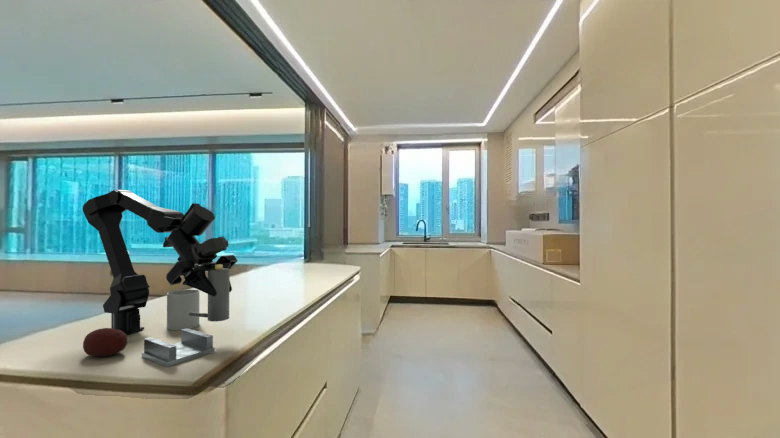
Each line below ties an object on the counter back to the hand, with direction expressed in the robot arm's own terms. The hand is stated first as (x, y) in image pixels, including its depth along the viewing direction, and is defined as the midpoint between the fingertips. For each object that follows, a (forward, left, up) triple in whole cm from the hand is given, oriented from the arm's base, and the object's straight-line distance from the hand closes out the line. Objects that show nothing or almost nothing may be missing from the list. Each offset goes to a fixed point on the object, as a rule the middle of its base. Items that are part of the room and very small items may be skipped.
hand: (223, 293), depth 94 cm
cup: (-22, +12, -13) cm, 29 cm away
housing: (-5, -8, -13) cm, 16 cm away
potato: (-22, -13, -13) cm, 29 cm away
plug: (-5, 0, -7) cm, 8 cm away
